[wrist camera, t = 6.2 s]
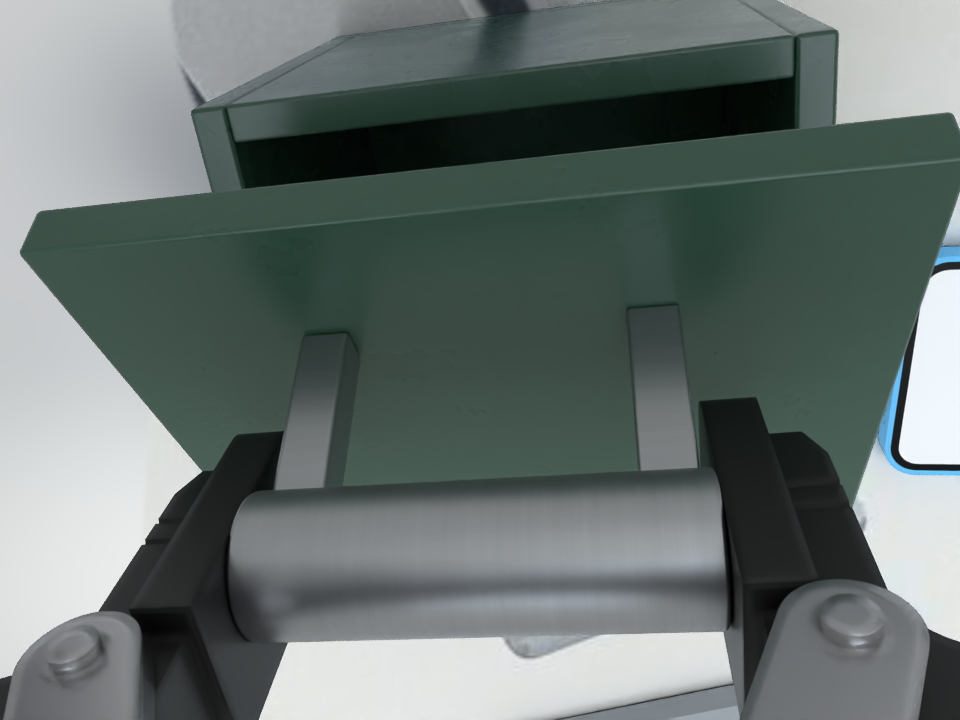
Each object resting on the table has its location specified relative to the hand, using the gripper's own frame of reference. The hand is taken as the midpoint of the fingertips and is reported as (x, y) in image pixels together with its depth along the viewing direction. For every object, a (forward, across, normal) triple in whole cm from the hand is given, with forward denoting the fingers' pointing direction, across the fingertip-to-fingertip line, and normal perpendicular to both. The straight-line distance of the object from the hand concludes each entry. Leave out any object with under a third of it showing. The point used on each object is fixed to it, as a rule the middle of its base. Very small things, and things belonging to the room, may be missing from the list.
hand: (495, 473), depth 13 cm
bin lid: (+3, 0, +1) cm, 3 cm away
